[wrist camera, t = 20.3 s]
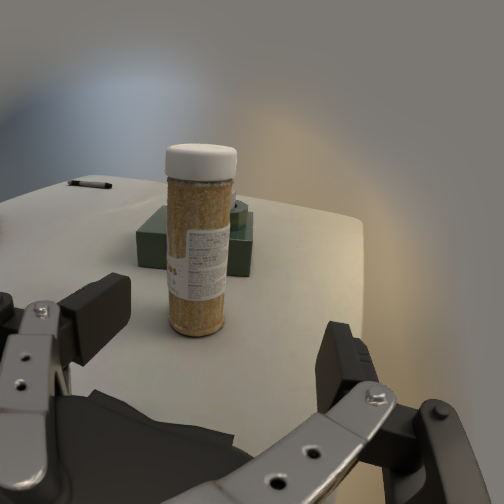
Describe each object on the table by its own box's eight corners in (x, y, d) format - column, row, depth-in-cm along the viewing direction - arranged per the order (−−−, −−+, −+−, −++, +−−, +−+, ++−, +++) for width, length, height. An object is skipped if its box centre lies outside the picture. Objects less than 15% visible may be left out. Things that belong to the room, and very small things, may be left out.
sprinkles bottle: (165, 308, 24) (162, 142, 19) (216, 302, 26) (225, 143, 21) (174, 343, 21) (170, 148, 15) (233, 334, 22) (248, 150, 17)
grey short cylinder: (235, 205, 35) (236, 188, 34) (233, 213, 32) (235, 195, 31) (205, 202, 35) (205, 185, 34) (199, 211, 31) (200, 192, 31)
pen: (109, 189, 61) (109, 183, 61) (65, 185, 65) (64, 180, 64) (113, 188, 62) (112, 182, 62) (68, 184, 66) (68, 179, 65)
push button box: (250, 240, 40) (254, 196, 38) (249, 277, 31) (254, 221, 28) (162, 233, 40) (162, 190, 37) (137, 266, 31) (134, 212, 28)
